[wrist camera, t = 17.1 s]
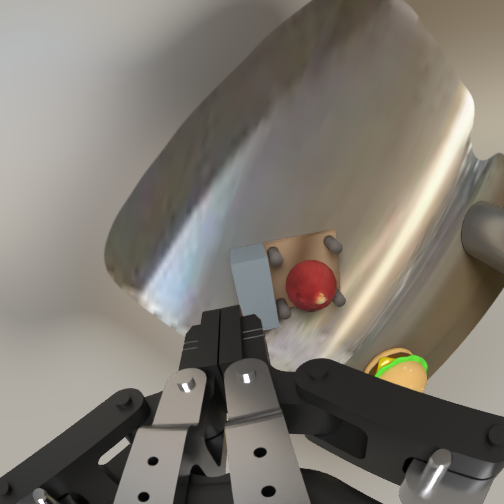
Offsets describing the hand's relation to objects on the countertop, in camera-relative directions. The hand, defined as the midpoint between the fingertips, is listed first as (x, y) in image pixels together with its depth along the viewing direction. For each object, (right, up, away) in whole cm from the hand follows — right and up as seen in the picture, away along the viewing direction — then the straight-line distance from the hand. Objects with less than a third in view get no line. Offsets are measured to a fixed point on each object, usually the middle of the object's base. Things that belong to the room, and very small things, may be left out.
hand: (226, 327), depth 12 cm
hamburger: (+24, -17, +35) cm, 46 cm away
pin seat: (+6, 0, +27) cm, 27 cm away
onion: (+7, +1, +26) cm, 27 cm away
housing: (+1, 0, +27) cm, 27 cm away
